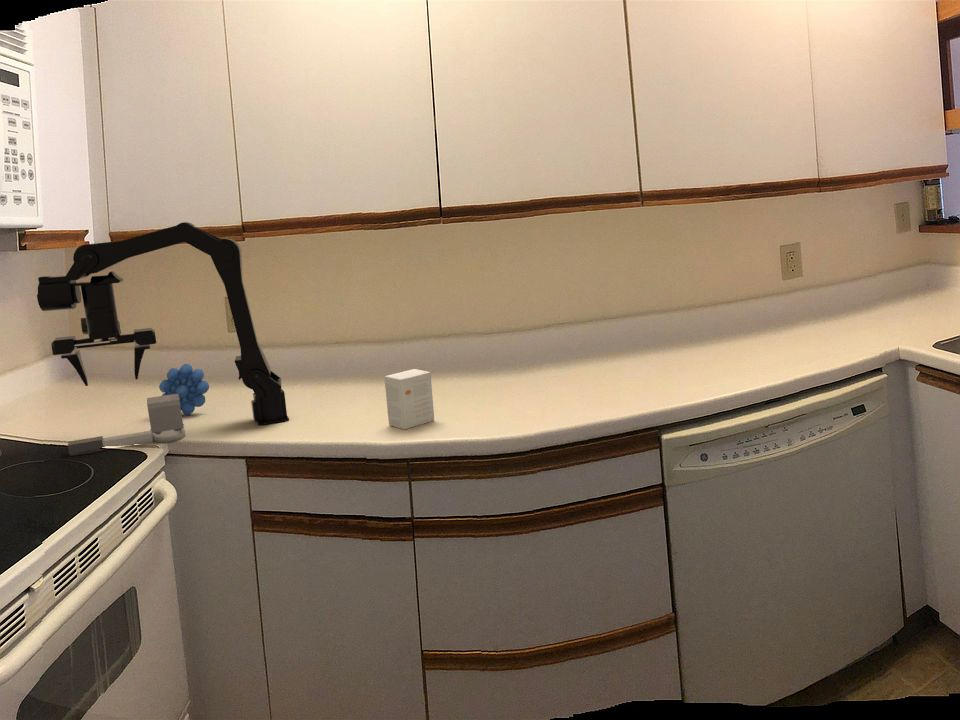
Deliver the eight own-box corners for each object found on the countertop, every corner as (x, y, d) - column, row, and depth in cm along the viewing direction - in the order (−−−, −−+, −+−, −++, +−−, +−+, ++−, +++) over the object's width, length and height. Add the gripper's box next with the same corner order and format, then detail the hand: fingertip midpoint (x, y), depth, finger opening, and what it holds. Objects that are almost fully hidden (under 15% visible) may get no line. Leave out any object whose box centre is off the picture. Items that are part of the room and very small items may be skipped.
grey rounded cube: (182, 421, 155) (178, 393, 154) (183, 428, 150) (179, 399, 148) (151, 426, 153) (146, 398, 151) (151, 433, 147) (147, 404, 146)
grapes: (219, 408, 174) (212, 359, 171) (208, 416, 167) (201, 364, 165) (170, 411, 174) (163, 361, 172) (158, 419, 168) (150, 367, 165)
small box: (418, 416, 156) (414, 368, 154) (435, 421, 152) (431, 371, 150) (387, 425, 151) (383, 375, 149) (404, 430, 147) (399, 379, 145)
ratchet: (184, 432, 156) (180, 407, 155) (186, 439, 150) (182, 413, 149) (71, 450, 147) (67, 424, 146) (68, 459, 142) (63, 432, 141)
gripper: (150, 299, 159) (160, 369, 162) (51, 307, 151) (64, 381, 154) (150, 303, 149) (161, 378, 152) (45, 313, 141) (58, 392, 145)
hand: (112, 382), depth 151 cm, fingers open, 9 cm apart
